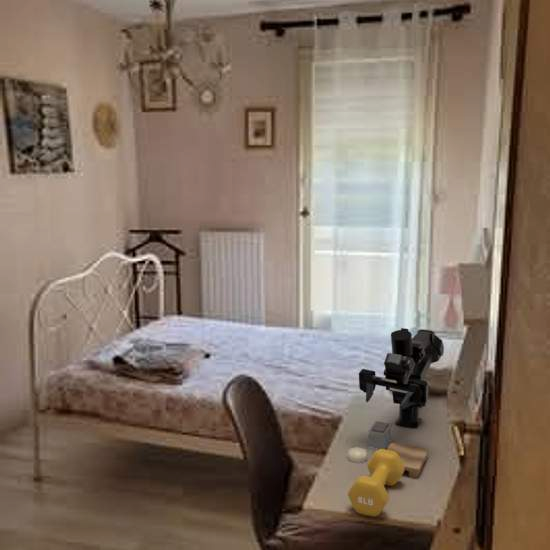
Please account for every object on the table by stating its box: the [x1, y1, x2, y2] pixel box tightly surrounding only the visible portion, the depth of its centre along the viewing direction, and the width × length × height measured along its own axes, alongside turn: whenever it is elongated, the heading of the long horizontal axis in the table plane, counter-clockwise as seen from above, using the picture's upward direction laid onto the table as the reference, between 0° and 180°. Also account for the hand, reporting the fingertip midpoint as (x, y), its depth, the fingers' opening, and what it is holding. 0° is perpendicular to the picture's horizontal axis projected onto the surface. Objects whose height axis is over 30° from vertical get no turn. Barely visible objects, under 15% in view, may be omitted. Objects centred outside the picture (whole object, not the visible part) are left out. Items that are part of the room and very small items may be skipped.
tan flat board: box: [386, 441, 430, 479], centre depth 156 cm, size 12×10×2 cm
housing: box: [368, 420, 393, 450], centre depth 168 cm, size 7×5×5 cm, turn 154°
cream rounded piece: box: [347, 446, 368, 464], centre depth 160 cm, size 5×5×2 cm
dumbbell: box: [347, 448, 406, 518], centre depth 141 cm, size 19×9×8 cm, turn 153°
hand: (383, 404), depth 157 cm, fingers open, 9 cm apart
